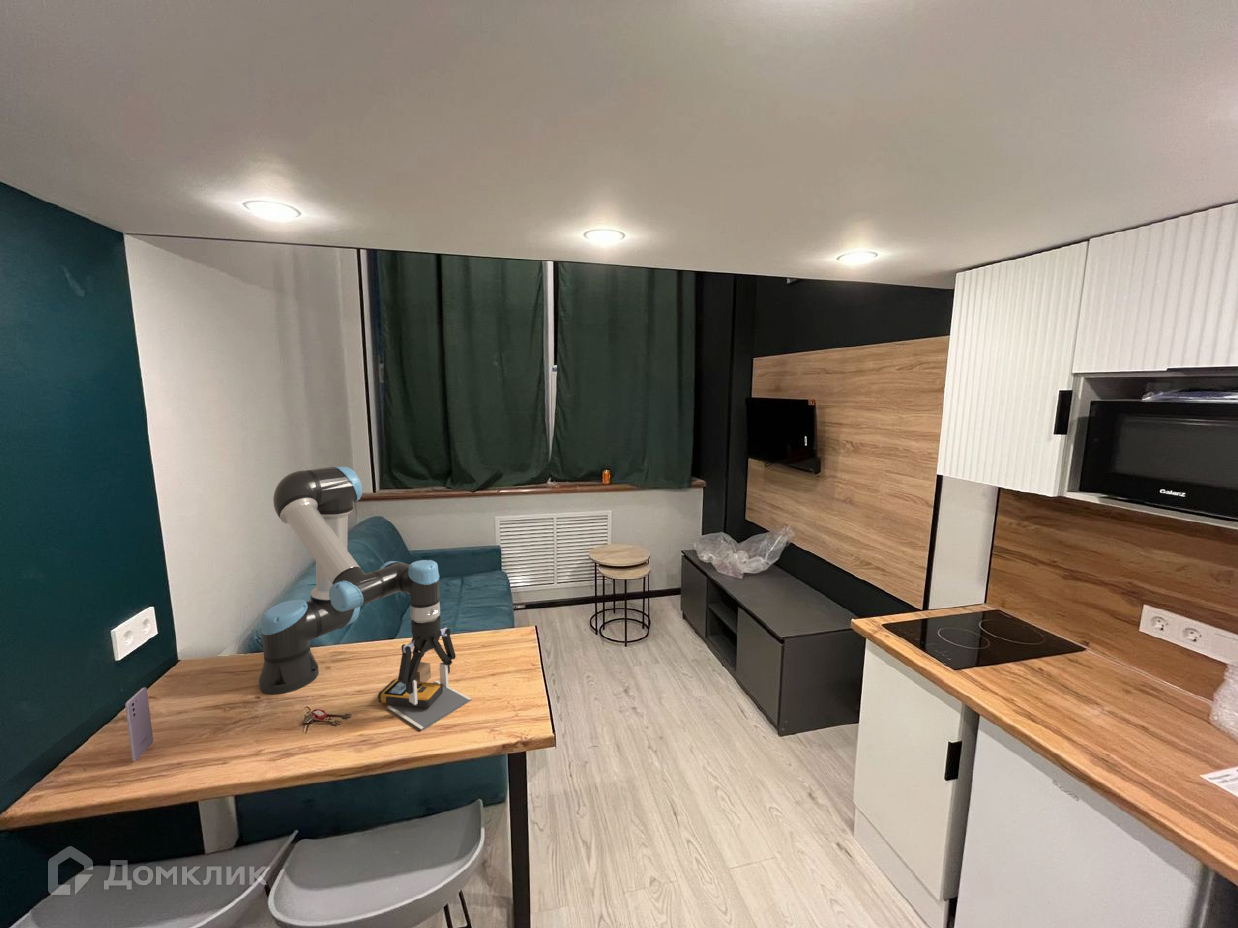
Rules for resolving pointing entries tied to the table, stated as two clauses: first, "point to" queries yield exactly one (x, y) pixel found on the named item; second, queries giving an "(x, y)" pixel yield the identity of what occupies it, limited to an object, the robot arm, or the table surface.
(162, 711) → the table surface
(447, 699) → the mat
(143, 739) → the smartphone
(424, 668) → the walnut block
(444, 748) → the table surface
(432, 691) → the electronic device
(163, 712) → the table surface
